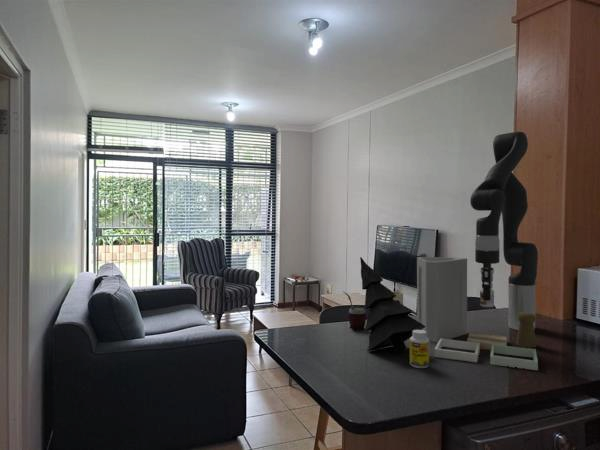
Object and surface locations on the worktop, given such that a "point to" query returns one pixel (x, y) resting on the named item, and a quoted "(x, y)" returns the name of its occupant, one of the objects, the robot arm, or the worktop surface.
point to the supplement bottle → (419, 349)
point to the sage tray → (514, 361)
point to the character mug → (398, 297)
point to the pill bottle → (485, 302)
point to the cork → (526, 330)
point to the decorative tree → (385, 314)
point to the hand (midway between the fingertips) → (487, 298)
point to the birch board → (487, 340)
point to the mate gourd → (356, 317)
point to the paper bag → (442, 296)
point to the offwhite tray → (457, 354)
